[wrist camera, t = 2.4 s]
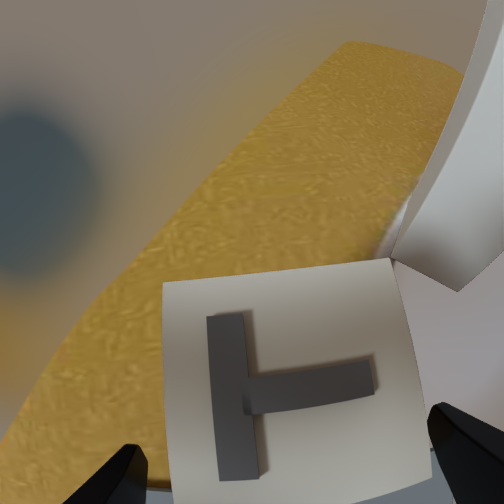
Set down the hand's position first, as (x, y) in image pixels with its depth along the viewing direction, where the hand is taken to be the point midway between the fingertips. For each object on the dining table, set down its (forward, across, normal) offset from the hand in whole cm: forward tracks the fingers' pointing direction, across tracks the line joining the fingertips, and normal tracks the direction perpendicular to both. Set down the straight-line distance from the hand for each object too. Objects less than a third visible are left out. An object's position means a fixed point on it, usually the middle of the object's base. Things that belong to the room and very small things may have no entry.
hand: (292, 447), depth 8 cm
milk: (+14, -13, -1) cm, 19 cm away
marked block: (+7, 0, +5) cm, 9 cm away
